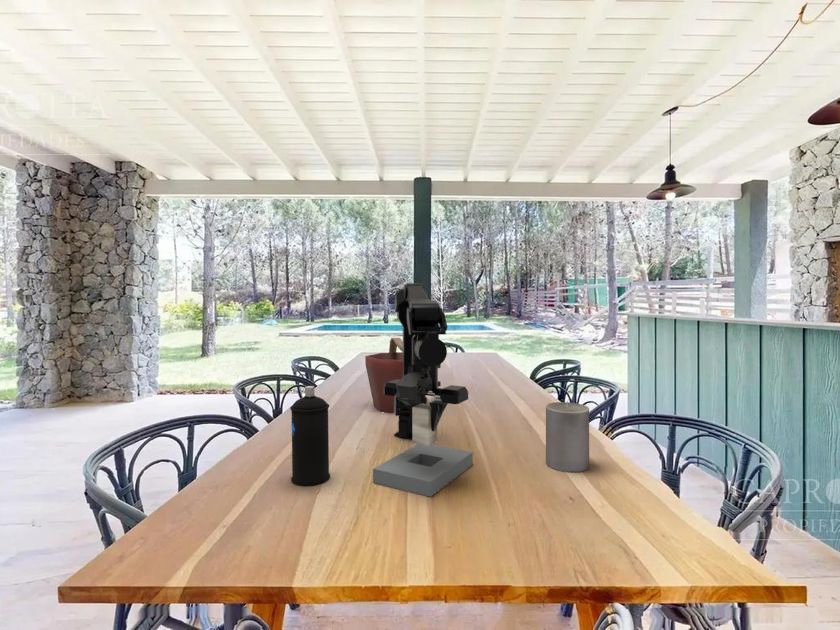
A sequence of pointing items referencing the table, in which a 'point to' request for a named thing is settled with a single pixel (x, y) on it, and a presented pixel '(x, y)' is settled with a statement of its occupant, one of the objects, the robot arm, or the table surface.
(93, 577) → the table surface
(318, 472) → the aerosol can
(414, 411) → the cream peg
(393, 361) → the bucket
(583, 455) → the pillar candle
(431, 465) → the socket block
